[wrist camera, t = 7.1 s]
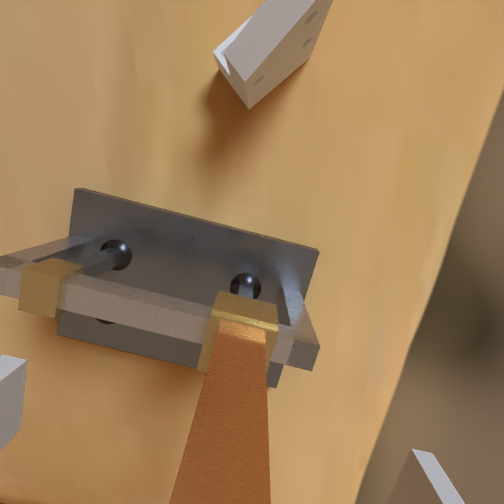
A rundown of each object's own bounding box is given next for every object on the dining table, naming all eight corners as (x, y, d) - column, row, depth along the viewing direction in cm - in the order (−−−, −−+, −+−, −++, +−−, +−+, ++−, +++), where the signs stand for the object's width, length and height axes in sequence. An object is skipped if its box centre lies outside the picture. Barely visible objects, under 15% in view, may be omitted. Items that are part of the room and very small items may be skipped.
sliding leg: (219, 304, 25) (97, 665, 6) (229, 263, 25) (124, 538, 6) (260, 314, 26) (263, 701, 6) (272, 274, 25) (313, 581, 6)
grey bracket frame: (72, 258, 25) (-28, 298, 16) (75, 230, 25) (-26, 256, 16) (293, 314, 26) (310, 381, 17) (301, 288, 25) (323, 344, 17)
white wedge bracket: (371, -5, 20) (347, -37, 13) (263, 105, 26) (209, 123, 19) (338, -59, 19) (295, -120, 12) (236, 68, 25) (171, 72, 19)
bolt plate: (65, 328, 28) (55, 335, 27) (83, 188, 25) (74, 188, 24) (275, 379, 29) (276, 388, 27) (316, 249, 26) (319, 252, 25)
